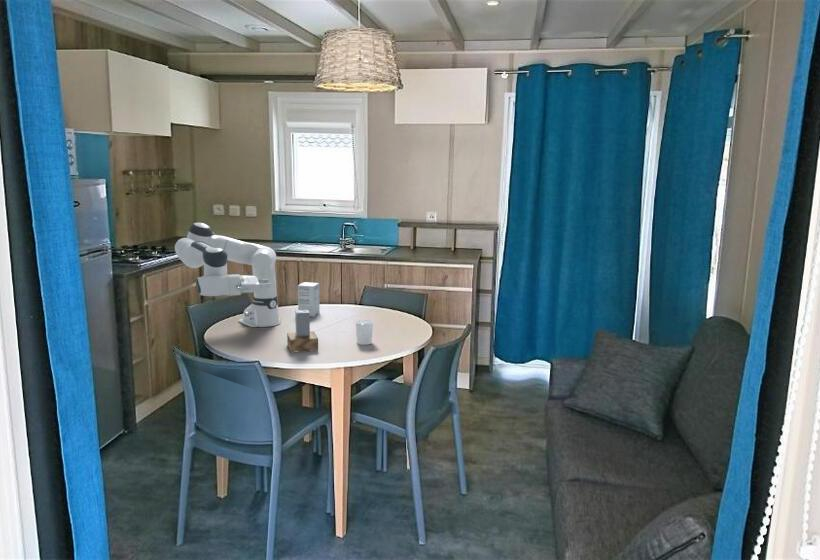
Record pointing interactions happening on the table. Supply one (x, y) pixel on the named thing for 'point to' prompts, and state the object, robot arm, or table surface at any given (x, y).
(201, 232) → the robot arm
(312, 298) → the supplement box
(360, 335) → the white cup
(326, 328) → the table surface
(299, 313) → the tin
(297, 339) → the walnut block
